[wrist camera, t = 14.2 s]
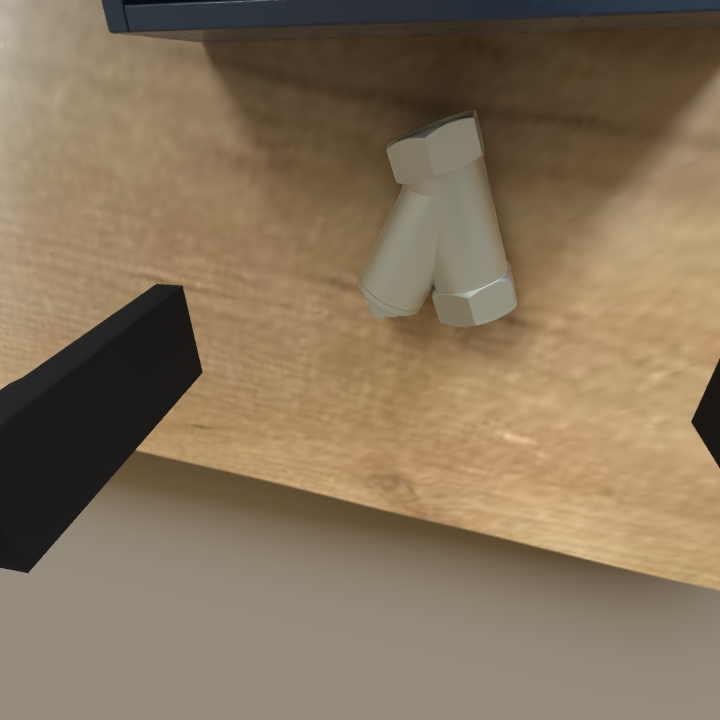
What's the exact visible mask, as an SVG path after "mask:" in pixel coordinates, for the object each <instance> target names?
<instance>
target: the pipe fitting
mask: <svg viewBox="0 0 720 720" xmlns="http://www.w3.org/2000/svg"><path fill="white" fill-rule="evenodd" d="M386 151H387V154H388V157H389V160H390V164H391V167H392V170H393V173H394V177H395V180H396V183H398V184H403V187H402V189H401V191H400V193H399V195H398V197H397V199H396V201H395V204H394V206H393V208H392V210H391V212H390V214H389V216H388V218H387V220H386V222H385V224H384V226H383V228H382V230H381V232H380V234H379V236H378V238H377V240H376V242H375V244H374V246H373V248H372V250H371V253H370V255H369V257H368V259H367V261H366V263H365V265H364V267H363V269H362V271H361V273H360V275H359V277H358V280H357V283H358V287H359V289H360V291H361V292H362V294H363V295H364V296H365V297H366V300H365V301H366V303H367V304H368V306H369V307H370V308H371V309H370V313H371V314H372V315H373V316H374V317H376V318H378V319H385V318H386V317H397V315H399V316H412V315H414V314H416V313H417V312H418V311H419V310H420V308H421V306H422V305H423V303H424V301H425V300H426V298H427V296H428V295H429V293H430V292H431V290H432V288H433V292H432V299H433V302H434V306H435V309H436V312H437V315H438V319H439V322H440V323H442V324H445V325H449V326H454V327H472V326H478V325H482V324H486V323H489V322H492V321H494V320H497V319H499V318H501V317H502V316H504V315H506V314H508V313H509V312H510V311H512V310H513V309H515V308H516V306H517V298H516V288H515V283H514V279H513V274H512V270H511V265H510V263H509V262H507V260H506V255H505V251H504V247H503V242H502V238H501V233H500V229H499V224H498V220H497V215H496V211H495V206H494V202H493V197H492V193H491V188H490V184H489V179H488V175H487V170H486V166H485V162H484V157H483V155H484V143H483V138H482V134H481V129H480V124H479V120H478V115H477V112H476V110H469V111H465V112H461V113H458V114H455V115H452V116H449V117H446V118H444V119H441V120H438V121H435V122H433V123H430V124H428V125H425V126H423V127H420V128H418V129H415V130H413V131H411V132H408V133H406V134H404V135H402V136H400V137H398V138H396V139H394V140H392V141H390V142H389V144H388V146H387V149H386Z"/></svg>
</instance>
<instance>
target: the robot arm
mask: <svg viewBox="0 0 720 720" xmlns="http://www.w3.org/2000/svg"><path fill="white" fill-rule="evenodd" d="M202 373H203V372H202V368H201V363H200V359H199V355H198V350H197V346H196V342H195V337H194V333H193V329H192V324H191V320H190V316H189V311H188V307H187V303H186V298H185V294H184V290H183V286H179V285H164V284H156V285H154V286H153V287H151V288H150V289H149V290H147V291H146V292H144V293H143V294H141V295H140V296H139V297H137V298H136V299H134V300H133V301H131V302H130V303H129V304H127V305H126V306H124V307H123V308H121V309H120V310H119V311H117V312H116V313H114V314H113V315H111V316H110V317H109V318H107V319H106V320H104V321H103V322H101V323H100V324H99V325H97V326H96V327H94V328H93V329H91V330H90V331H88V332H87V333H86V334H84V335H83V336H81V337H80V338H78V339H77V340H76V341H74V342H73V343H71V344H70V345H68V346H67V347H66V348H64V349H63V350H61V351H60V352H58V353H57V354H56V355H54V356H53V357H51V358H50V359H48V360H47V361H46V362H44V363H43V364H41V365H40V366H38V367H37V368H36V369H34V370H33V371H31V372H30V373H28V374H27V375H26V376H24V377H23V378H21V379H19V380H16V381H14V382H12V383H10V384H8V385H7V386H5V387H4V388H3V389H1V390H0V568H5V569H10V570H15V571H20V572H25V573H29V571H30V570H31V569H32V568H33V567H34V566H35V565H36V563H37V562H38V561H39V560H40V559H41V558H42V556H43V555H44V554H45V553H46V552H47V551H48V550H49V548H50V547H51V546H52V545H53V544H54V543H55V541H56V540H57V539H58V538H59V537H60V536H61V535H62V533H63V532H64V531H65V530H66V529H67V528H68V527H69V525H70V524H71V523H72V522H73V521H74V520H75V519H76V517H77V516H78V515H79V514H80V513H81V512H82V510H83V509H84V508H85V507H86V506H87V505H88V504H89V502H90V501H91V500H92V499H93V498H94V497H95V495H96V494H97V493H98V492H99V491H100V490H101V489H102V487H103V486H104V485H105V484H106V483H107V482H108V481H109V479H110V478H111V477H112V476H113V475H114V474H115V473H116V471H117V470H118V469H119V468H120V467H121V466H122V465H123V463H124V462H125V461H126V460H127V459H128V458H129V457H130V455H131V454H132V453H133V452H134V451H135V450H136V448H137V447H138V446H139V445H140V444H141V443H142V442H143V440H144V439H145V438H146V437H147V436H148V435H149V434H150V432H151V431H152V430H153V429H154V428H155V427H156V425H157V424H158V423H159V422H160V421H161V420H162V419H163V417H164V416H165V415H166V414H167V413H168V412H169V411H170V409H171V408H172V407H173V406H174V405H175V404H176V403H177V401H178V400H179V399H180V398H181V397H182V396H183V394H184V393H185V392H186V391H187V390H188V389H189V388H190V386H191V385H192V384H193V383H194V382H195V381H196V380H197V378H198V377H199V376H200V375H201V374H202ZM691 422H692V424H693V426H694V427H695V429H696V430H697V432H698V434H699V435H700V437H701V439H702V440H703V442H704V443H705V445H706V447H707V448H708V450H709V452H710V453H711V455H712V456H713V458H714V460H715V461H716V463H717V465H718V466H719V468H720V359H719V361H718V364H717V366H716V368H715V370H714V373H713V375H712V377H711V379H710V381H709V384H708V386H707V388H706V390H705V392H704V395H703V397H702V399H701V401H700V403H699V406H698V408H697V410H696V412H695V415H694V417H693V419H692V421H691Z"/></svg>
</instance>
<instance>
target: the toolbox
mask: <svg viewBox="0 0 720 720" xmlns="http://www.w3.org/2000/svg"><path fill="white" fill-rule="evenodd" d="M102 4H103V9H104V13H105V17H106V21H107V25H108V29H109V32H110V33H114V34H124V35H134V36H144V37H154V38H163V39H173V40H183V41H193V42H230V41H263V40H297V39H330V38H363V37H396V36H429V35H462V34H495V33H528V32H561V31H594V30H627V29H660V28H693V27H720V0H102Z"/></svg>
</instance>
